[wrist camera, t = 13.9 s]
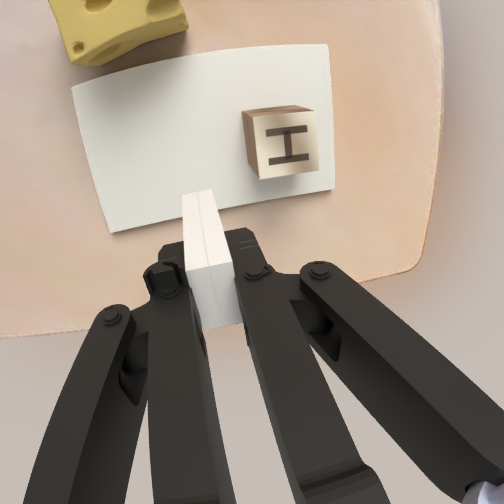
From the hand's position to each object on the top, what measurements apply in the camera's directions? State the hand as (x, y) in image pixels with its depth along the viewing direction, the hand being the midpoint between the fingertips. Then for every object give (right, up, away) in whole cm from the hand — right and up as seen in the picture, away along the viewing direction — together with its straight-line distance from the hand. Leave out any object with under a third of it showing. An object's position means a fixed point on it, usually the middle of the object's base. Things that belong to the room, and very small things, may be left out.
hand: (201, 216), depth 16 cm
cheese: (-11, +24, +8) cm, 27 cm away
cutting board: (-2, +11, +17) cm, 21 cm away
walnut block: (+6, +8, +12) cm, 16 cm away
